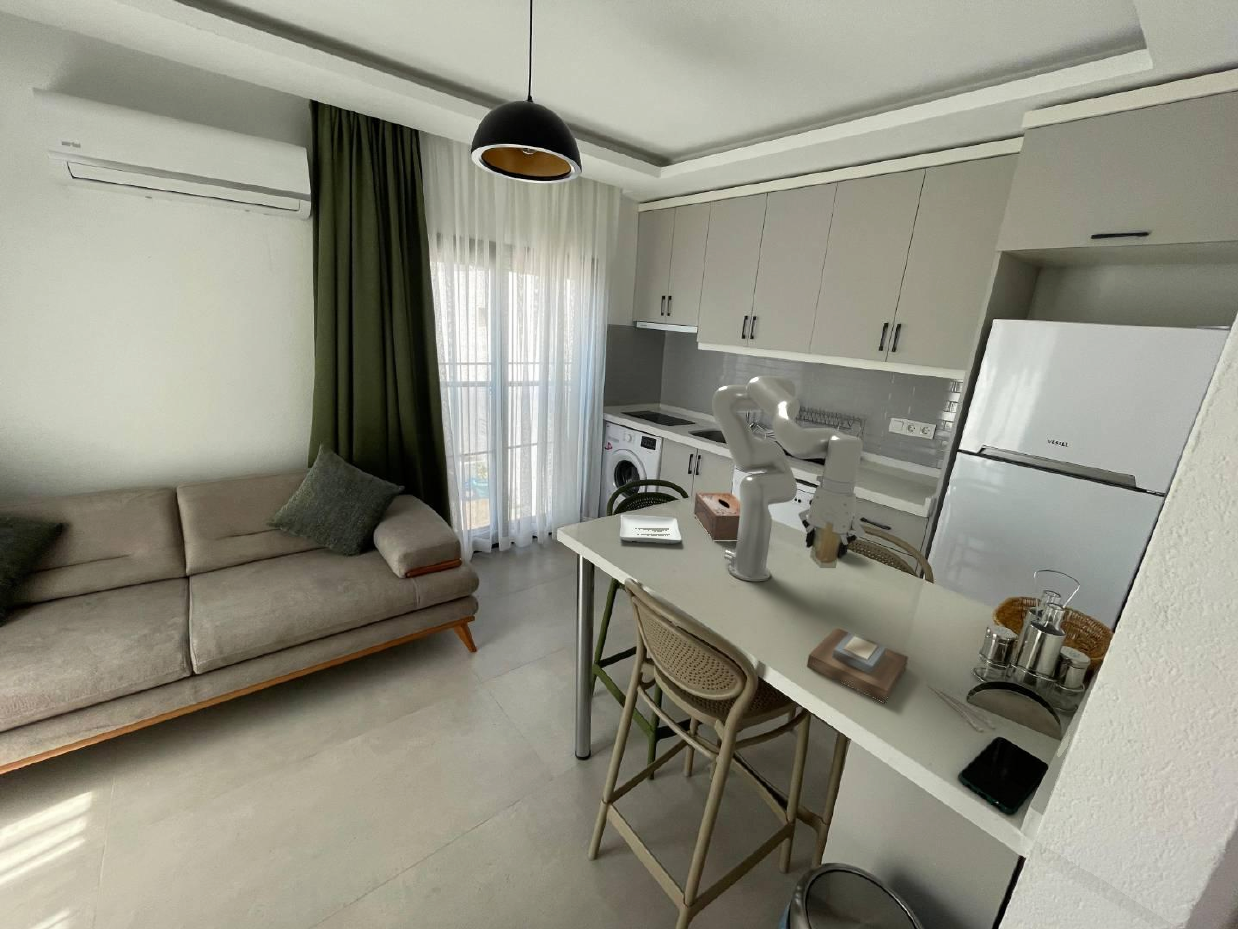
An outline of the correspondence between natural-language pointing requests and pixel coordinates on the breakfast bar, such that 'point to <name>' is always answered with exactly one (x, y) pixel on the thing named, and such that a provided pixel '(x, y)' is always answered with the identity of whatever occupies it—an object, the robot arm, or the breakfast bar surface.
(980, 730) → the tweezers
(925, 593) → the breakfast bar surface
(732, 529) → the tissue box cover
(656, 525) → the salad plate
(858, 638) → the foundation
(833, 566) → the skincare box
